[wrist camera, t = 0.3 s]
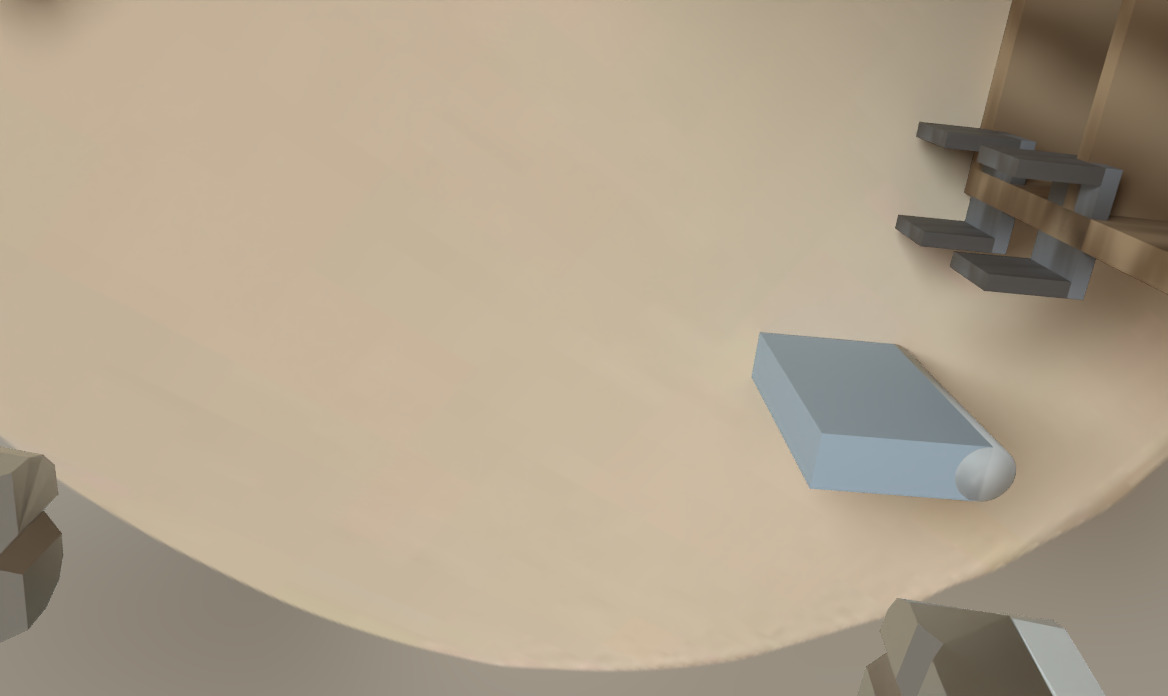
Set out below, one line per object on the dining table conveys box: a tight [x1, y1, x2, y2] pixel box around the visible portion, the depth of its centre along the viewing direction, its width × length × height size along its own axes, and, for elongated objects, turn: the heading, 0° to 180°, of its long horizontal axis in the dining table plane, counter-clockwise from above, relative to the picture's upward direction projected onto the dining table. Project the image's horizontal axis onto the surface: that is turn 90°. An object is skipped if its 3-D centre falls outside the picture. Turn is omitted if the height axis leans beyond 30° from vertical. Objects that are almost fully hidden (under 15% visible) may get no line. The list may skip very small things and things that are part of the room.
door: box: [752, 332, 1016, 501], centre depth 53 cm, size 10×4×14 cm, turn 84°
